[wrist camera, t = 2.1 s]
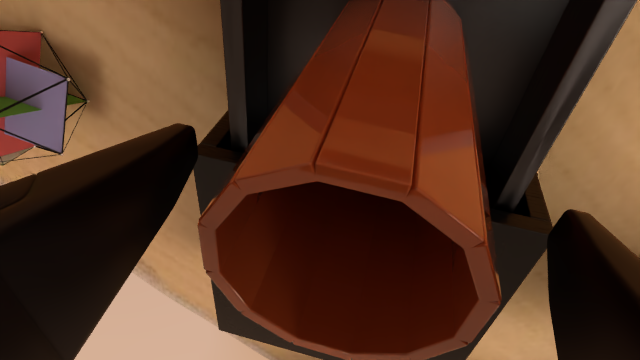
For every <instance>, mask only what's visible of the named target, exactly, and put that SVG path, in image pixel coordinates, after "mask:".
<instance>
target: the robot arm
mask: <svg viewBox="0 0 640 360" xmlns="http://www.w3.org/2000/svg"><path fill="white" fill-rule="evenodd" d="M197 159H198V147H197V140H196V133H195V129H194V128H193V127H192V126H189V125H185V124H180V123H176V124H173V125H171V126H168V127H165V128H162V129H159V130H157V131H154V132H151V133H148V134H145V135H142V136H140V137H137V138H134V139H131V140H128V141H126V142H123V143H120V144H117V145H114V146H112V147H109V148H106V149H103V150H100V151H98V152H95V153H92V154H89V155H86V156H84V157H81V158H78V159H75V160H72V161H70V162H67V163H64V164H61V165H58V166H56V167H53V168H50V169H47V170H44V171H42V172H39V173H37V175H35V174H33V175H30V176H27V177H25V178H22V179H19V180H16V181H13V182H10V183H7V184H4V185H1V186H0V360H74V359H75V357H76V356H77V354H78V353H79V351H80V350H81V348H82V346H83V345H84V344H85V342H86V340H87V339H88V337H89V336H90V334H91V333H92V331H93V330H94V328H95V327H96V325H97V324H98V322H99V321H100V319H101V318H102V316H103V315H104V313H105V312H106V310H107V308H108V307H109V305H110V304H111V302H112V301H113V299H114V298H115V296H116V295H117V293H118V292H119V290H120V289H121V287H122V286H123V284H124V283H125V281H126V279H127V278H128V276H129V275H130V273H131V272H132V270H133V269H134V267H135V266H136V264H137V263H138V261H139V260H140V258H141V257H142V255H143V254H144V252H145V251H146V249H147V248H148V246H149V245H150V243H151V242H152V240H153V238H154V237H155V235H156V234H157V232H158V231H159V229H160V228H161V226H162V225H163V223H164V222H165V220H166V219H167V217H168V216H169V214H170V212H171V211H172V209H173V208H174V206H175V204H176V202H177V200H178V198H179V196H180V194H181V192H182V190H183V188H184V186H185V184H186V182H187V180H188V178H189V176H190V174H191V172H192V170H193V168H194V166H195V164H196V162H197ZM547 259H548V291H549V304H550V312H551V318H552V324H553V330H554V337H555V343H556V349H557V355H558V360H640V259H639V258H638V257H637V256H636V255H635V254H634V253H633V252H632V251H630V250H629V249H628V248H627V247H626V246H625V245H624V244H623V243H622V242H620V241H619V240H618V239H617V238H616V237H615V236H614V235H613V234H611V233H610V232H609V231H608V230H607V229H606V228H605V227H604V226H603V225H601V224H600V223H599V222H598V221H597V220H596V219H595V218H594V217H593V216H591V215H590V214H589V213H586V212H582V211H577V210H572V209H570V210H567V211H565V212H564V213H563V215H562V216H561V218H560V219H559V220H558V222H557V223H556V225H555V226H554V227H553V229H552V230H551V232H550V233H549V236H548V239H547Z"/></svg>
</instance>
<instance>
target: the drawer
mask: <svg viewBox="0 0 640 360" xmlns="http://www.w3.org/2000/svg"><path fill="white" fill-rule="evenodd" d="M348 1H349V0H220V3H221V17H222V30H223V43H224V57H225V70H226V84H227V97H228V111H229V124H230V138H231V151H236V152H240V153H244V152H245V150H246V149H247V147H248V146H249V144H250V143H251V141H252V140H253V138H254V137H255V135H256V134H257V132H258V131H259V129H260V128H261V126H262V125H263V123H264V122H265V120H266V119H267V117H268V116H269V115H270V113H271V112H272V110H273V109H274V107H275V106H276V104H277V103H278V101H279V100H280V98H281V97H282V95H283V94H284V92H285V91H286V89H287V88H288V86H289V85H290V83H291V82H292V80H293V79H294V77H295V76H296V75H297V73H298V72H299V70H300V69H301V67H302V66H303V64H304V63H305V61H306V60H307V58H308V57H309V55H310V54H311V52H312V51H313V49H314V48H315V46H316V45H317V43H318V42H319V40H320V39H321V37H322V36H323V34H324V33H325V32H326V30H327V29H328V27H329V26H330V24H331V23H332V22H333V20H334V19H335V18H336V16H337V15H338V14H339V12H340V11H341V9H342V8H343V7H344V6H345V5H346V3H347V2H348ZM447 1H448V2H449V3H450V4H451V6H452V7H453V8H454V10H455V11H456V13H457V14H458V15H459V16H460V19H461V20H462V24H463V29H464V32H465V38H466V43H467V48H468V53H469V59H470V67H471V74H472V81H473V89H474V96H475V104H476V111H477V119H478V126H479V134H480V141H481V148H482V156H483V163H484V171H485V178H486V186H487V193H488V201H489V208H491V209H495V210H500V211H504V212H509V213H513V212H514V210H515V208H516V206H517V205H518V203H519V201H520V200H521V198H522V196H523V194H524V193H525V191H526V189H527V188H528V186H529V184H530V183H531V181H532V179H533V177H534V176H535V174H536V172H537V171H538V169H539V167H540V165H541V164H542V162H543V160H544V159H545V157H546V155H547V154H548V152H549V150H550V148H551V147H552V145H553V143H554V142H555V140H556V138H557V136H558V135H559V133H560V131H561V130H562V128H563V126H564V125H565V123H566V121H567V119H568V118H569V116H570V114H571V113H572V111H573V109H574V107H575V106H576V104H577V102H578V101H579V99H580V97H581V96H582V94H583V92H584V90H585V89H586V87H587V85H588V84H589V82H590V80H591V78H592V77H593V75H594V73H595V72H596V70H597V68H598V67H599V65H600V63H601V61H602V60H603V58H604V56H605V55H606V53H607V51H608V49H609V48H610V46H611V44H612V43H613V41H614V39H615V38H616V36H617V34H618V32H619V31H620V29H621V27H622V26H623V24H624V22H625V20H626V19H627V17H628V15H629V14H630V12H631V10H632V9H633V7H634V5H635V3H636V2H637V0H447Z"/></svg>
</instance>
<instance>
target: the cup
mask: <svg viewBox="0 0 640 360" xmlns="http://www.w3.org/2000/svg"><path fill="white" fill-rule="evenodd" d="M198 232H199V239H200V245H201V252H202V259H203V266H204V269H205V270H206V273H207V275H208V276H209V277H210V278H211V279H212V281H213V282H214V283H215V284H216V285H217V286H218V288H219V289H220V290H221V291H222V292H223V294H224V295H225V296H226V297H227V298H228V300H229V301H230V302H231V303H232V304H233V306H234V307H235V308H236V309H237V310H238V311H242V312H241V314H243V315H244V316H246V317H248V318H249V319H251V320H253V321H254V322H256V323H258V324H259V325H261V326H263V327H264V328H266V329H268V330H269V331H271V332H273V333H274V334H276V335H278V336H279V337H281V338H283V339H284V340H286V341H288V342H292V341H293V344H294V345H298V346H301V347H304V348H308V349H311V350H315V351H318V352H322V353H325V354H328V355H332V356H335V357H339V358H342V359H346V360H351V358H352V360H425V359H428V358H431V357H434V356H437V355H440V354H443V353H446V352H449V351H452V350H455V349H458V348H461V347H464V346H467V345H468V344H469V343H472V342H473V340H474V339H475V338H476V336H477V335H478V334H479V332H480V331H481V330H482V328H483V327H484V326H485V324H486V323H487V322H488V320H489V319H490V318H491V316H492V315H493V314H494V312H495V311H496V310H497V308H498V307H499V306H500V301H501V299H502V297H501V290H500V282H499V275H498V268H497V260H496V253H495V245H494V238H493V230H492V223H491V215H490V208H489V201H488V193H487V186H486V178H485V171H484V163H483V156H482V148H481V141H480V134H479V126H478V119H477V111H476V104H475V96H474V89H473V81H472V74H471V67H470V59H469V53H468V48H467V43H466V38H465V32H464V29H463V24H462V20H461V19H460V16H459V15H458V14H457V13H456V11H455V10H454V8H453V7H452V6H451V4H450V3H449V2H448V1H447V0H349V1H348V2H347V3H346V5H345V6H344V7H343V8H342V9H341V11H340V12H339V14H338V15H337V16H336V18H335V19H334V20H333V22H332V23H331V24H330V26H329V27H328V29H327V30H326V32H325V33H324V34H323V36H322V37H321V39H320V40H319V42H318V43H317V45H316V46H315V48H314V49H313V51H312V52H311V54H310V55H309V57H308V58H307V60H306V61H305V63H304V64H303V66H302V67H301V69H300V70H299V72H298V73H297V75H296V76H295V77H294V79H293V80H292V82H291V83H290V85H289V86H288V88H287V89H286V91H285V92H284V94H283V95H282V97H281V98H280V100H279V101H278V103H277V104H276V106H275V107H274V109H273V110H272V112H271V113H270V115H269V116H268V117H267V119H266V120H265V122H264V123H263V125H262V126H261V128H260V129H259V131H258V132H257V134H256V135H255V137H254V138H253V140H252V141H251V143H250V144H249V146H248V147H247V149H246V150H245V152H244V153H243V155H242V156H241V158H240V159H239V160H238V162H237V163H236V165H235V166H234V168H233V169H232V171H231V172H230V174H229V175H228V177H227V178H226V180H225V181H224V183H223V184H222V186H221V187H220V189H219V190H218V192H217V193H216V195H215V196H214V198H213V199H212V201H211V202H210V203H209V205H208V206H207V208H206V209H205V211H204V212H203V214H202V215H201V217H200V218H199V223H198Z"/></svg>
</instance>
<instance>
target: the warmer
mask: <svg viewBox="0 0 640 360" xmlns="http://www.w3.org/2000/svg"><path fill="white" fill-rule="evenodd" d="M197 147H198V159H197V162H196V164H195V166H194V168H193V170H194V176H195V183H196V189H197V195H198V201H199V208H200V214H201V215H202V214H203V212H204V211H205V209H206V208H207V206H208V205H209V203H210V202H211V201H212V199H213V198H214V196H215V195H216V193H217V192H218V190H219V189H220V187H221V186H222V184H223V183H224V181H225V180H226V178H227V177H228V175H229V174H230V172H231V171H232V169H233V168H234V166H235V165H236V163H237V162H238V160H239V159H240V158H241V156H242V155H243V153H240V152H236V151H231V138H230V124H229V111H227V112H226V113H225V114H224V116H223V117H222V118H221V119H220V120H219V121H218V123H217V124H216V125H215V126H214V127H213V129H212V130H211V131H210V132H209V133H208V134H207V136H206V137H205V138H204V139H203V140H202V141H201V143H200V144H199V145H198V146H197ZM490 215H491V223H492V230H493V238H494V245H495V253H496V260H497V268H498V275H499V282H500V290H501V297H502V299H501V301H500V306H499V307H498V308H497V310H496V311H495V312H494V314H493V315H492V316H491V318H490V319H489V320H488V322H487V323H486V324H485V326H484V327H483V328H482V330H481V331H480V332H479V334H478V335H477V336H476V338H475V339H474V340H473V342H472V343H469V344H468V345H467V346H464V347H461V348H458V349H455V350H452V351H449V352H446V353H443V354H440V355H437V356H434V357H431V358H428V359H425V360H466V359H467V357H468V356H469V355H470V353H471V352H472V350H473V349H474V348H475V346H476V345H477V344H478V342H479V341H480V339H481V338H482V337H483V335H484V334H485V333H486V331H487V330H488V328H489V327H490V326H491V324H492V323H493V322H494V320H495V319H496V318H497V316H498V315H499V313H500V312H501V311H502V309H503V308H504V307H505V305H506V304H507V302H508V301H509V300H510V298H511V297H512V296H513V294H514V293H515V291H516V290H517V289H518V287H519V286H520V285H521V283H522V282H523V281H524V279H525V278H526V276H527V275H528V274H529V272H530V271H531V270H532V268H533V267H534V265H535V264H536V263H537V261H538V260H539V259H540V257H541V256H542V254H543V253H544V252H545V250H546V249H547V239H548V236H549V233H550V232H551V230H552V229H553V226H552V223H551V220H550V217H549V213H548V210H547V207H546V203H545V200H544V197H543V193H542V190H541V187H540V183H539V180H538V177H537V173H536V174H535V176H534V177H533V179H532V181H531V183H530V184H529V186H528V188H527V189H526V191H525V193H524V194H523V196H522V198H521V200H520V201H519V203H518V205H517V206H516V208H515V210H514V212H513V213H509V212H504V211H500V210H495V209H491V208H490ZM211 283H212V289H213V295H214V302H215V308H216V314H217V321H218V327H219V330H221V331H225V332H228V333H232V334H235V335H239V336H242V337H246V338H249V339H253V340H256V341H260V342H263V343H267V344H270V345H274V346H277V347H281V348H284V349H288V350H291V351H295V352H298V353H302V354H305V355H309V356H312V357H316V358H319V359H323V360H346V359H342V358H339V357H335V356H332V355H328V354H325V353H322V352H318V351H315V350H311V349H308V348H304V347H301V346H298V345H294V344H293V341H292V342H288V341H286V340H284V339H283V338H281V337H279V336H278V335H276V334H274V333H273V332H271V331H269V330H268V329H266V328H264V327H263V326H261V325H259V324H258V323H256V322H254V321H253V320H251V319H249V318H248V317H246V316H244V315H243V314H241V312H242V311H238V310H237V309H236V308H235V307H234V306H233V304H232V303H231V302H230V301H229V300H228V298H227V297H226V296H225V295H224V294H223V292H222V291H221V290H220V289H219V288H218V286H217V285H216V284H215V283H214V282H213V281H212V279H211ZM351 360H352V358H351Z"/></svg>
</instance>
